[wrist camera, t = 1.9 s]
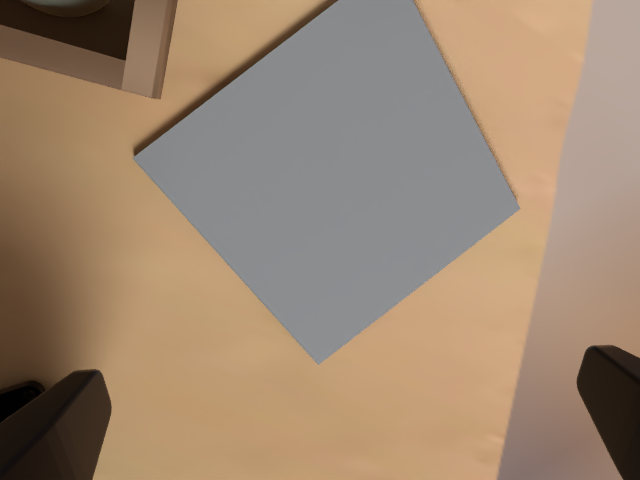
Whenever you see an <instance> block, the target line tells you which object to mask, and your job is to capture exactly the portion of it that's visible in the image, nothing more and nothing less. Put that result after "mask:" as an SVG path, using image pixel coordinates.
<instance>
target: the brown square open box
mask: <svg viewBox="0 0 640 480" xmlns="http://www.w3.org/2000/svg"><path fill="white" fill-rule="evenodd" d="M177 1H178V0H135V3H134V10H133V17H132V23H131V30H130V36H129V43H128V49H127V56H126V61H124V60H121V59H118V58H114V57H111V56H107V55H104V54H100V53H97V52H93V51H90V50H86V49H83V48H80V47H76V46H73V45H69V44H66V43H62V42H59V41H55V40H52V39H48V38H45V37H42V36H38V35H35V34H31V33H28V32H24V31H21V30H17V29H14V28H11V27H7V26H4V25H0V57H1V58H5V59H8V60H12V61H16V62H20V63H23V64H27V65H31V66H34V67H38V68H42V69H45V70H49V71H53V72H57V73H60V74H64V75H68V76H71V77H75V78H79V79H82V80H86V81H90V82H93V83H97V84H101V85H105V86H108V87H112V88H116V89H119V90H123V91H127V92H130V93H134V94H138V95H141V96H145V97H149V98H154V99H161V93H162V88H163V82H164V76H165V70H166V65H167V59H168V53H169V47H170V42H171V36H172V30H173V24H174V18H175V13H176V7H177Z"/></svg>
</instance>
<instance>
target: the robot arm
mask: <svg viewBox="0 0 640 480" xmlns="http://www.w3.org/2000/svg"><path fill="white" fill-rule="evenodd" d="M577 388H578V391H579V394H580V396H581V398H582V400H583V402H584V404H585V406H586V408H587V410H588V412H589V414H590V416H591V418H592V420H593V422H594V424H595V426H596V428H597V430H598V432H599V434H600V436H601V438H602V440H603V442H604V444H605V446H606V448H607V450H608V452H609V454H610V456H611V458H612V460H613V462H614V464H615V466H616V468H617V470H618V471H619V473H620V475H621V476H622V478H623V480H640V358H639V357H636V356H634V355H632V354H630V353H628V352H626V351H624V350H622V349H620V348H618V347H616V346H613V345H594V346H590V347H589V348H588V349H587V350H586V351H585V354H584V357H583V360H582V364H581V367H580V370H579V373H578V376H577ZM27 390H31V391H33V392H34V393H35V394H29V393H28V392H27ZM110 416H111V400H110V397H109V394H108V391H107V387H106V384H105V381H104V377H103V375H102V373H101V372H100V371H99V370H96V369H90V370H77V371H74V372H72V373H70V374H69V375H68V376H66V377H65V378H63V379H62V380H60V381H59V382H58V383H56V384H55V385H53V386H52V387H51V388H49V389H48V390H45V388H44V386H43V385H42V384H41V383H39V382H37V381H27V382H24V383H21V384H18V385H15V386H12V387H9V388H6V389H2V390H0V480H92V479H93V475H94V472H95V468H96V465H97V462H98V458H99V455H100V451H101V448H102V444H103V441H104V437H105V434H106V430H107V427H108V423H109V420H110Z"/></svg>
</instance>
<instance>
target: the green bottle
mask: <svg viewBox="0 0 640 480" xmlns="http://www.w3.org/2000/svg"><path fill="white" fill-rule="evenodd" d="M20 1H22V2H23V3H25V4H27V5H29V6H31V7H33V8H35V9H37V10H39V11H42V12H44V13H48V14H51V15H55V16H63V17H77V16H84V15H87V14H91V13H93V12H95V11H97V10H99V9H101V8H102V7H104V6H105V5H107V4H108V3H109V2H110V1H111V0H20Z"/></svg>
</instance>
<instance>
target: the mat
mask: <svg viewBox="0 0 640 480" xmlns="http://www.w3.org/2000/svg"><path fill="white" fill-rule="evenodd" d="M133 159H134V160H135V162H136V163H137V164H138V165H139V166H140V167H141V168H142V169H143V170H144V172H145V173H146V174H147V175H148V176H149V177H150V178H151V179H152V180H153V182H154V183H155V184H156V185H157V186H158V187H159V188H160V189H161V190H162V192H163V193H164V194H165V195H166V196H167V197H168V198H169V199H170V200H171V202H172V203H173V204H174V205H175V206H176V207H177V208H178V209H179V210H180V212H181V213H182V214H183V215H184V216H185V217H186V218H187V219H188V221H189V222H190V223H191V224H192V225H193V226H194V227H195V228H196V229H197V231H198V232H199V233H200V234H201V235H202V236H203V237H204V238H205V239H206V241H207V242H208V243H209V244H210V245H211V246H212V247H213V248H214V249H215V251H216V252H217V253H218V254H219V255H220V256H221V257H222V258H223V259H224V261H225V262H226V263H227V264H228V265H229V266H230V267H231V268H232V269H233V271H234V272H235V273H236V274H237V275H238V276H239V277H240V278H241V279H242V281H243V282H244V283H245V284H246V285H247V286H248V287H249V288H250V289H251V291H252V292H253V293H254V294H255V295H256V296H257V297H258V298H259V299H260V301H261V302H262V303H263V304H264V305H265V306H266V307H267V308H268V309H269V311H270V312H271V313H272V314H273V315H274V316H275V317H276V318H277V319H278V321H279V322H280V323H281V324H282V325H283V326H284V327H285V328H286V329H287V331H288V332H289V333H290V334H291V335H292V336H293V337H294V338H295V340H296V341H297V342H298V343H299V344H300V345H301V346H302V347H303V348H304V350H305V351H306V352H307V353H308V354H309V355H310V356H311V357H312V358H313V360H314V361H315V362H316V363H317V364H318V365H319V364H320V363H322V362H323V361H324V360H325V359H327V358H328V357H329V356H331V355H332V354H333V353H334V352H336V351H337V350H338V349H340V348H341V347H342V346H344V345H345V344H346V343H347V342H349V341H350V340H351V339H353V338H354V337H355V336H356V335H358V334H359V333H360V332H362V331H363V330H364V329H366V328H367V327H368V326H369V325H371V324H372V323H373V322H375V321H376V320H377V319H378V318H380V317H381V316H382V315H384V314H385V313H386V312H388V311H389V310H390V309H391V308H393V307H394V306H395V305H397V304H398V303H399V302H400V301H402V300H403V299H404V298H406V297H407V296H408V295H409V294H411V293H412V292H413V291H415V290H416V289H417V288H419V287H420V286H421V285H422V284H424V283H425V282H426V281H428V280H429V279H430V278H431V277H433V276H434V275H435V274H437V273H438V272H439V271H441V270H442V269H443V268H444V267H446V266H447V265H448V264H450V263H451V262H452V261H453V260H455V259H456V258H457V257H459V256H460V255H461V254H463V253H464V252H465V251H466V250H468V249H469V248H470V247H472V246H473V245H474V244H475V243H477V242H478V241H479V240H481V239H482V238H483V237H485V236H486V235H487V234H488V233H490V232H491V231H492V230H494V229H495V228H496V227H497V226H499V225H500V224H501V223H503V222H504V221H505V220H506V219H508V218H509V217H510V216H512V215H513V214H514V213H516V212H517V211H518V210H519V209H520V207H519V205H518V203H517V201H516V199H515V197H514V195H513V193H512V191H511V189H510V187H509V186H508V184H507V182H506V180H505V178H504V176H503V174H502V172H501V170H500V168H499V166H498V164H497V162H496V160H495V158H494V156H493V155H492V153H491V151H490V149H489V147H488V145H487V143H486V141H485V139H484V137H483V135H482V133H481V131H480V129H479V127H478V125H477V123H476V122H475V120H474V118H473V116H472V114H471V112H470V110H469V108H468V106H467V104H466V102H465V100H464V98H463V96H462V94H461V92H460V90H459V89H458V87H457V85H456V83H455V81H454V79H453V77H452V75H451V73H450V71H449V69H448V67H447V65H446V63H445V61H444V59H443V58H442V56H441V54H440V52H439V50H438V48H437V46H436V44H435V42H434V40H433V38H432V36H431V34H430V32H429V30H428V28H427V26H426V25H425V23H424V21H423V19H422V17H421V15H420V13H419V11H418V9H417V7H416V5H415V3H414V1H413V0H338V1H337V2H335V3H334V4H333V5H331V6H330V7H329V8H328V9H326V10H325V11H324V12H322V13H321V14H320V15H318V16H317V17H316V18H314V19H313V20H312V21H311V22H309V23H308V24H307V25H305V26H304V27H303V28H301V29H300V30H299V31H298V32H296V33H295V34H294V35H292V36H291V37H290V38H288V39H287V40H286V41H284V42H283V43H282V44H281V45H279V46H278V47H277V48H275V49H274V50H273V51H271V52H270V53H269V54H268V55H266V56H265V57H264V58H262V59H261V60H260V61H258V62H257V63H256V64H254V65H253V66H252V67H251V68H249V69H248V70H247V71H245V72H244V73H243V74H241V75H240V76H239V77H238V78H236V79H235V80H234V81H232V82H231V83H230V84H228V85H227V86H226V87H224V88H223V89H222V90H221V91H219V92H218V93H217V94H215V95H214V96H213V97H211V98H210V99H209V100H208V101H206V102H205V103H204V104H202V105H201V106H200V107H198V108H197V109H196V110H194V111H193V112H192V113H191V114H189V115H188V116H187V117H185V118H184V119H183V120H181V121H180V122H179V123H178V124H176V125H175V126H174V127H172V128H171V129H170V130H168V131H167V132H166V133H164V134H163V135H162V136H161V137H159V138H158V139H157V140H155V141H154V142H153V143H151V144H150V145H149V146H148V147H146V148H145V149H144V150H142V151H141V152H140V153H138V154H137V155H136V156H134V157H133Z"/></svg>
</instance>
